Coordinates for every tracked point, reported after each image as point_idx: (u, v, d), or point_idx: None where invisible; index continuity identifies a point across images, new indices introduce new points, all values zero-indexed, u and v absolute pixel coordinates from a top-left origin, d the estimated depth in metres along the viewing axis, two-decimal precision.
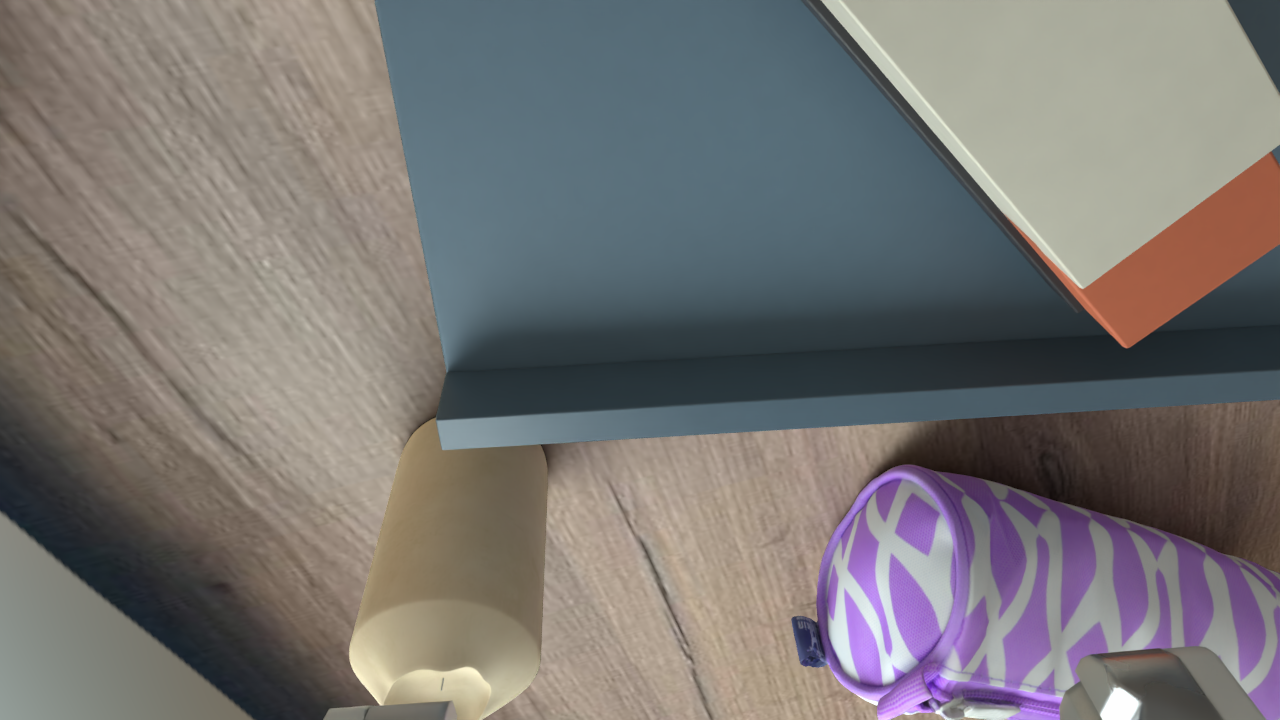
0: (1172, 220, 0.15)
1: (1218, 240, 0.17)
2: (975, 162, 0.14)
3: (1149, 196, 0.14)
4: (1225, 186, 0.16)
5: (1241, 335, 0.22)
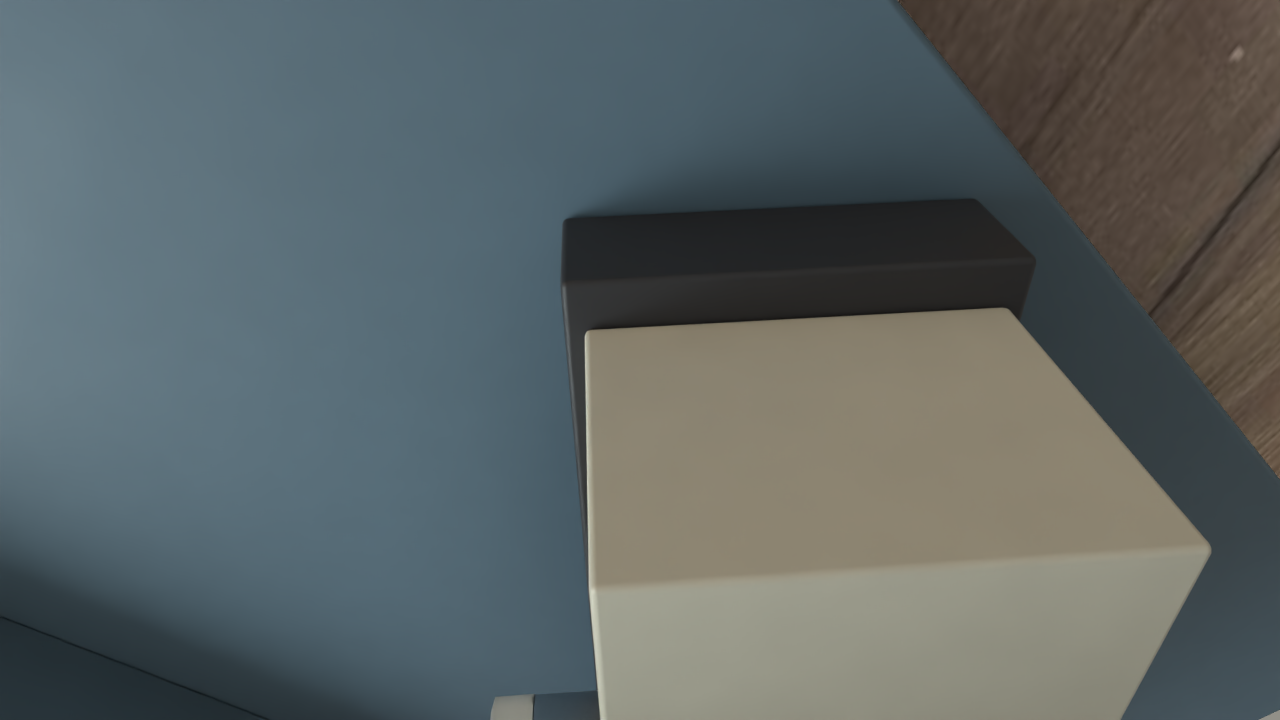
0: None
1: None
2: None
3: None
4: None
5: None
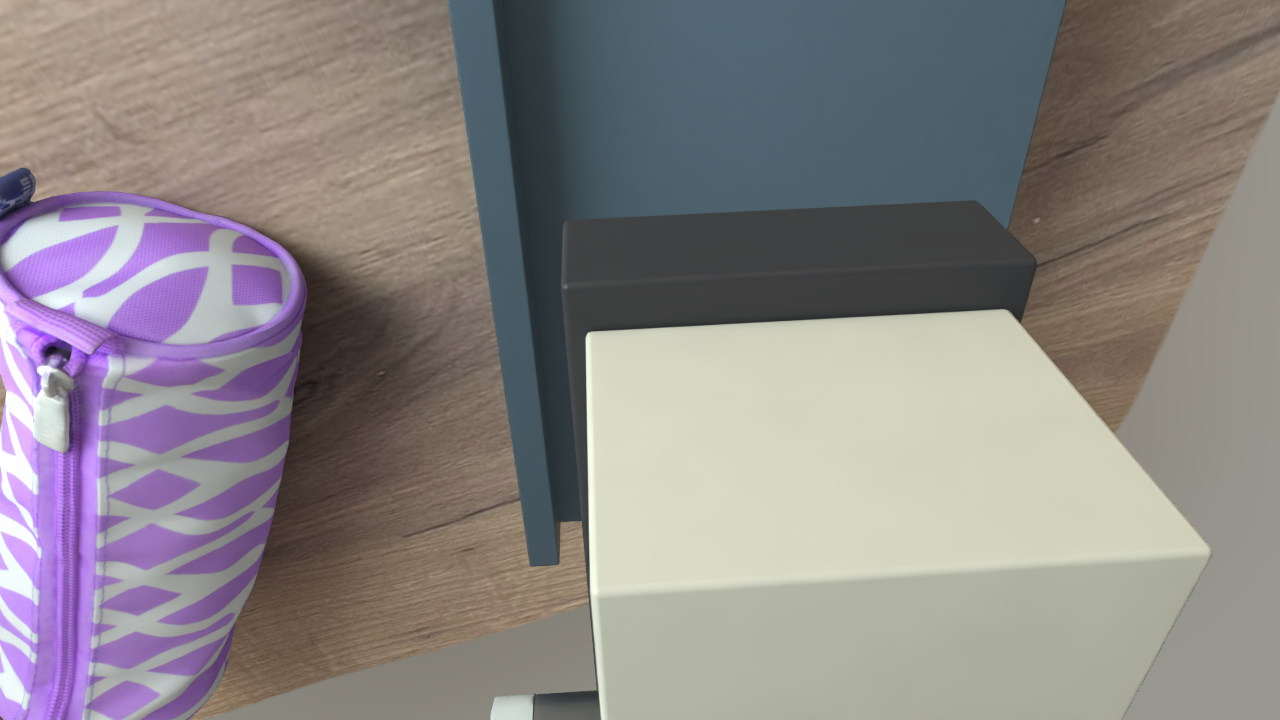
0: None
1: None
2: None
3: None
4: None
5: (553, 471, 0.28)
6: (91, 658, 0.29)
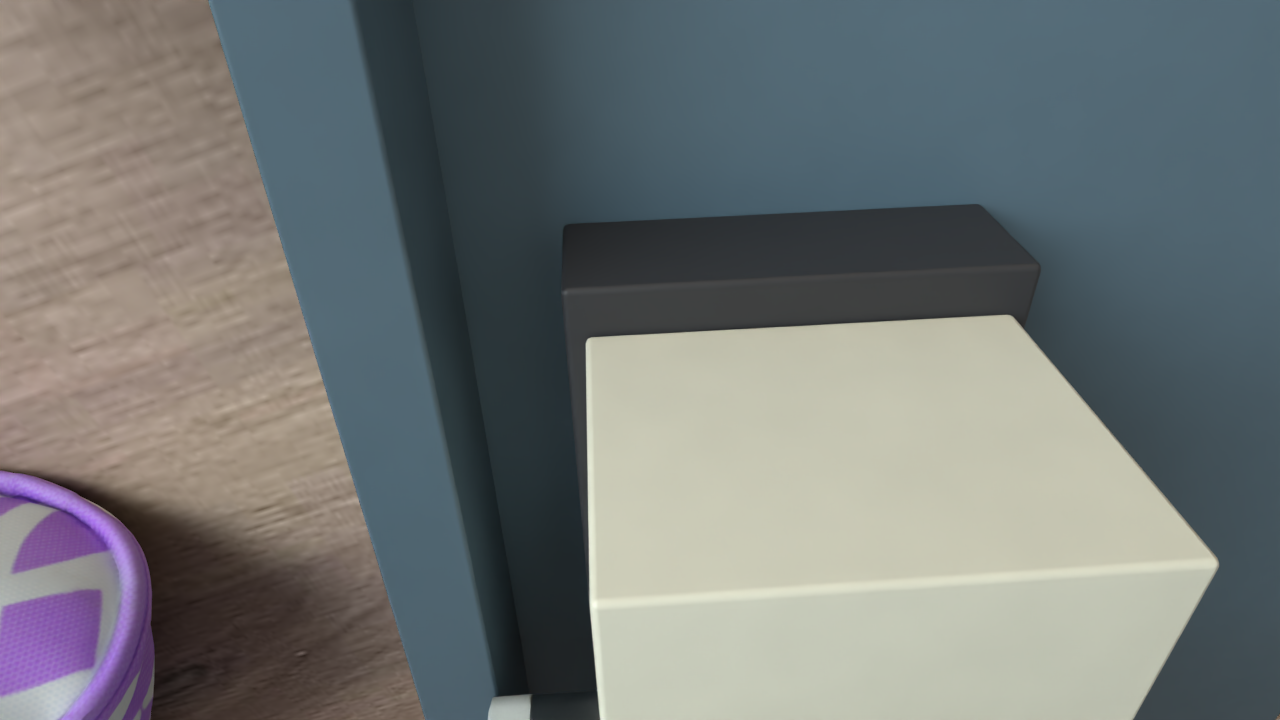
0: None
1: None
2: None
3: None
4: None
5: None
6: None
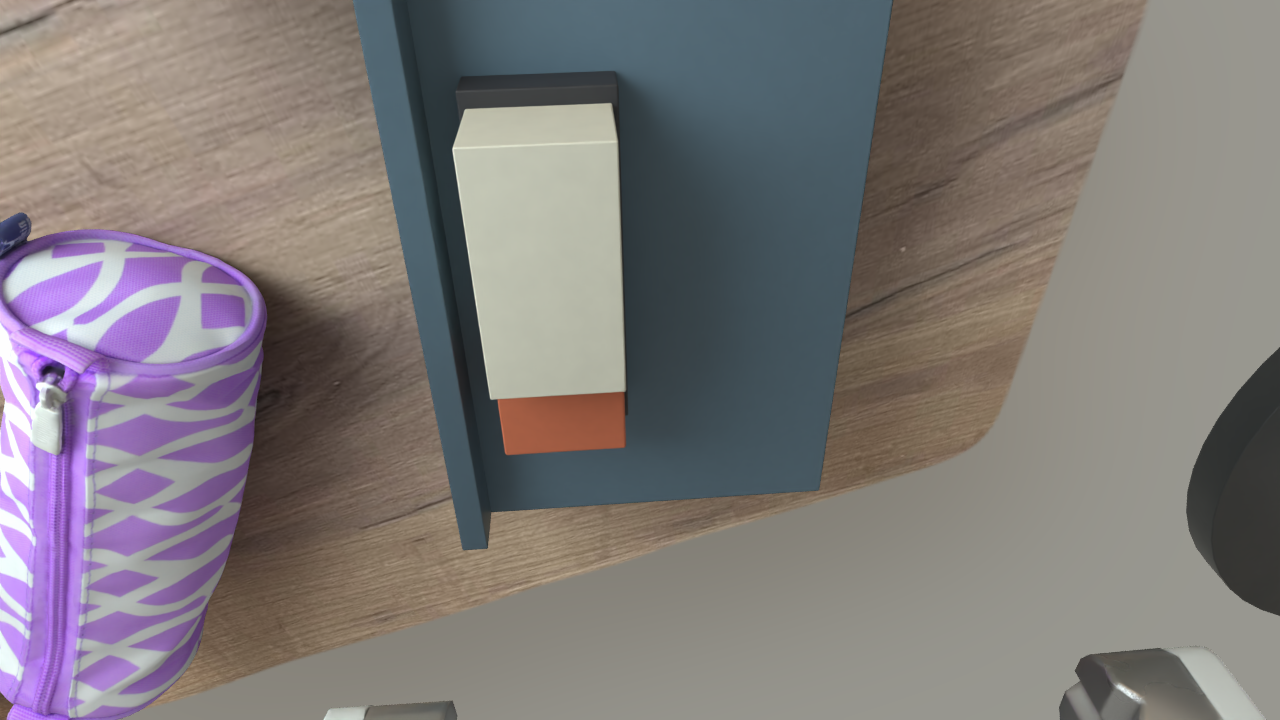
0: (551, 394, 0.25)
1: (579, 426, 0.28)
2: (474, 294, 0.23)
3: (546, 374, 0.25)
4: (595, 400, 0.27)
5: (482, 468, 0.32)
6: (79, 634, 0.33)
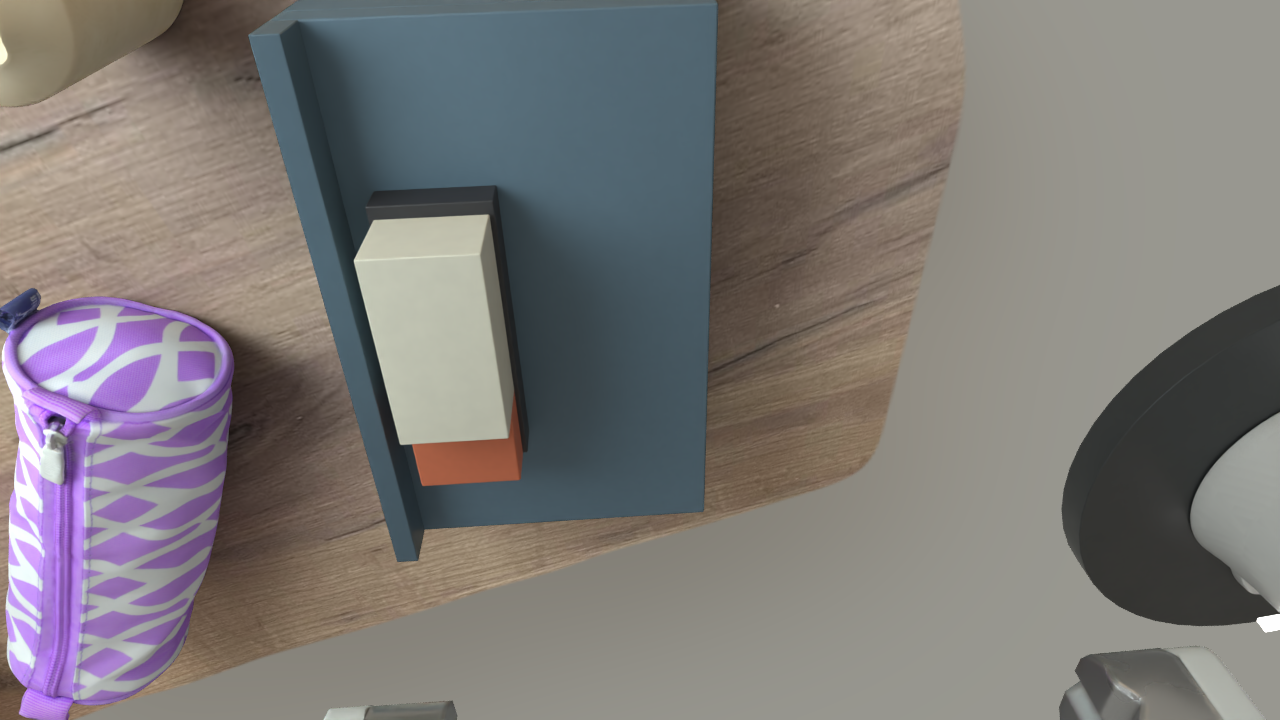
0: (448, 440, 0.31)
1: (480, 463, 0.34)
2: (380, 365, 0.29)
3: (443, 425, 0.31)
4: (491, 442, 0.33)
5: (412, 493, 0.39)
6: (81, 630, 0.40)
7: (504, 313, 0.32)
